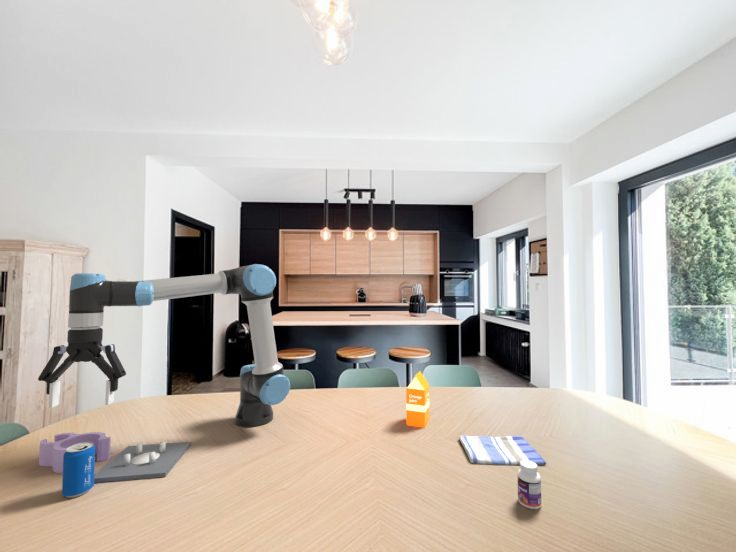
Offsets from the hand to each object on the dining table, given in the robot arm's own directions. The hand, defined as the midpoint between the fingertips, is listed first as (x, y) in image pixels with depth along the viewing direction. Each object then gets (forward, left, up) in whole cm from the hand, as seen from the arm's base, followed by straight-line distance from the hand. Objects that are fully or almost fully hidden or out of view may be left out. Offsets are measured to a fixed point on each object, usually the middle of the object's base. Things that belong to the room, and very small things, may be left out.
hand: (82, 404), depth 91 cm
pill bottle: (-118, +26, -23) cm, 123 cm away
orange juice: (-106, -28, -23) cm, 112 cm away
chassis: (-11, -12, -23) cm, 28 cm away
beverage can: (-1, +2, -23) cm, 23 cm away
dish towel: (-125, 0, -23) cm, 127 cm away
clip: (+12, -16, -23) cm, 30 cm away
